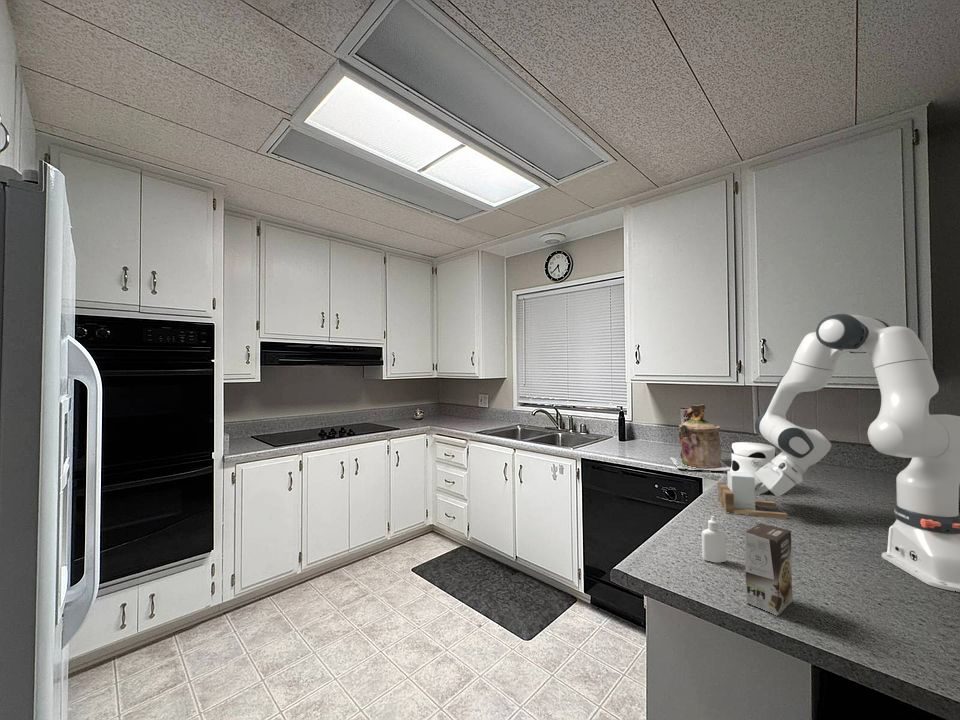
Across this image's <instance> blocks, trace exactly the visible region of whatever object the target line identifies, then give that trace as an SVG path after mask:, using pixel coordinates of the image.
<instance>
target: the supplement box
mask: <svg viewBox="0 0 960 720" xmlns="http://www.w3.org/2000/svg"><path fill="white" fill-rule="evenodd" d="M726 473H727V475H726V476H727V477H726V478H727V486H728V487H729V489H730V490H731V491H732V493H733V494H734V508H735V509H746V510H756V506H755V500H756V495H755V477H754V476H752V475H751V474H750V473H749V472H735V471H727V472H726Z"/></svg>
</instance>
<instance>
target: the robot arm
mask: <svg viewBox="0 0 960 720" xmlns="http://www.w3.org/2000/svg"><path fill="white" fill-rule="evenodd" d="M846 353H850V354H867V355H868V356H869V358H870V360H871V363H872V367H873V369H874V373H875V376H876V380H877V383H878V387H879V391H880V400H881V402H880V409H879V413H878V414H877V416H876V418H875V419H874V420H873V421H872V422H871V423H870V424H869V426H868V429H867V438H868V442H869V443H870V445H871V446H872V447H873V448H874V450H876V451H877V452H879V453H880V454H884V455H887V456H891V457H897V458H898V457H899V458H904V459H907V458H908V459H909V458H910V459H911V460H910V462H909V463H908V465H907V466H906V467H905V468H904V469H902V470H901V471H899V473H897V475H896V478H895V479H896V480H895V481H896V482H895V483H896V502H895V504H894V508H893V512H894V518H895V521H894V522H893V524H892V525H890V526H889V527H888V535H887V536H888V538H887V551H884V552H881V556H880V557H881V558H882V559H883V560H885V561H887V562H889V563H890V564H892V565H894V567H895V566H896V567H897V568H899V569H901V570H903V571H904V572H906V573H908V574H909V575H911V576H913V578H915V579H918V580H919V581H920V582H923V583H925V584H926V585H928V586H931V587H935V588H938V589H942V590H947V591H951V592H955V591H956V593H960V512H959V511H960V510H959V507H960V506H959V505H960V504H959V503H960V499H959V498H960V416H958V415H954V414H946V413H944V414H930V409H929V408H930V407H929V406H930V401H931V398H933V397H934V396H935V395H936V394H938V392H939V389H940V386H939V382H938V380H937V377H936V375H935V372H934V369H933V366H932V363H931V360H930V358H929V356H928V353H927V350H926V349H925V347H924V345H923V342H921V339H920V338H919V337H918V335H917V334H916V332H914V330H913V329H911V328H909V327H906V326H901V325H898V326H897V325H894V326H893V325H892V326H890V325H889V323H887V322H885V321H884V320H881V319H878V318H872V317H868V316H864V315H858V314H846V313H838V314H837V313H836V314H832V315H829V316H826V317H824V318H822V319H821V321H820V322H819V323H818V324H817V327H816V330H815V331H813V332H809V333H807V334H806V335H805V336H804V337H803V339H802V340H801V342H800V344H799V346H798V347H797V350H796V351H795V354H794V356H793V358H792V361H791V364H790V366H789V368H788V370H787V372H786V374H785V375H783V376H782V377H781V378H780V380H779V381H778V383H777V385H776V386H775V389H774V390H773V393H772V395H771V396H770V399H769V401H768V403H767V405H766V406H765V408H764V410H763V412H761V414H759V416H758V418H757V419H755V420H756V421H755V423H754V429H755V432H756V434H757V435H758V436H759V437H761V438H763V439H764V440H765V441H768V442H769V443H770V444H772V446H773V445H774V447H775V448H778V450H780V451H781V452H780V453H778V454H776V457H775V458H774V459H773V460H771V462H772V463H767V464H766V465H764V466H763V467H761V468H760V469H759V470H757V471H756V472H755V474H754V475H755V476H756V477H757V478H758V479H759V480H760V481H759V482H758V483H757V485H756V486H755V497H759V496H760V495H762V494H765V493H768V492H767V491H768V490H770V491H771V493H772V494H773V495H774V496H776V497H780V496H783V495H784V494H786V493H787V492H789V491H790V490H791V489H792V488H795V486H796V485H799V484H801V483H802V482H803V481H804V479H803V475H804V474H805V473H806V472H807V470H808V469H809V468H810V467H812V466H813V465H815V464H817V463H819V462H820V461H821V460H822V459H823V458H824V457H825V456H826V455H827V454H828V453H829V452H830V451H831V449H832V443H831V441H830V440H829V438H828V437H827V436H825V434H823V433H822V432H821V431H819V430H817V429H815V428H814V429H809V428H805V427H802V426H799V425H797V424H794V423H793V422H791V421H789V420H787V416H786V414H787V413H788V410H789V409H790V406H791V404H792V402H793V400H794V399H795V398H796V396H797V395H798V394H801V393H804V392H806V393H808V392H815V391H818V390H822V389H823V388H824V387H826V386H827V385H828V384H829V382H830V381H831V379H832V376H833V373H834V371H835V367H836V365H837V362H838V361H839V358H840V357H842V356H843V354H846Z"/></svg>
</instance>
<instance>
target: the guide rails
mask: <svg viewBox="0 0 960 720" xmlns="http://www.w3.org/2000/svg"><path fill="white" fill-rule="evenodd" d="M755 505H758V506H757V507H764V506H768V507H767V508H777V503H776V501H767V500H766V501H765V500H756V499H755ZM728 510H729V511H728ZM728 510H727V512H731V513H738V514H737V515H739V514H748V515H747V516H750V515H754V516H753V517H760V516H764V518H772V519H780V520H781V519H783V520H788V518H789V517H788V516H789V515H788V514H787V512H779V511H778V512H777V511H767V510H766V511H765V510H757V509H755V510H746V509H735V508H734V510H730V509H728Z"/></svg>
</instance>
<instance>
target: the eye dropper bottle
mask: <svg viewBox="0 0 960 720" xmlns="http://www.w3.org/2000/svg"><path fill="white" fill-rule="evenodd" d="M707 526H708V527H707V528H705V529H703V530H702V531H701V556H702V557H703V558H702V559H703V560H704V559H705V560H708V561H715V562H725V561H726V562H727V542H726V541H727V537H726V534H725V533H724V531H722V530H720V529H719V521H718V520H716V517H715V516H714V515H711V518H710V519H709V520H707ZM705 560H704V561H705ZM726 562H725V563H726Z"/></svg>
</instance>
